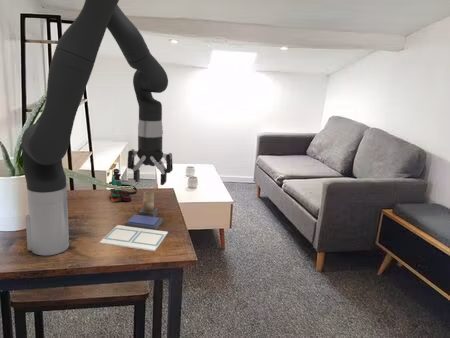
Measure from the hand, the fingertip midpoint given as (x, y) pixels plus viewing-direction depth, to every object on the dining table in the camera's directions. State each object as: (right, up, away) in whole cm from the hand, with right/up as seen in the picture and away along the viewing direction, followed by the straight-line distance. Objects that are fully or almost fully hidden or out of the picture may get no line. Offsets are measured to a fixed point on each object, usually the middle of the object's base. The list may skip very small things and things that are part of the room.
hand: (150, 183), depth 127 cm
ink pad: (-1, -13, -4) cm, 13 cm away
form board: (-2, -15, -13) cm, 21 cm away
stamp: (-1, -11, +3) cm, 11 cm away
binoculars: (-13, -6, +16) cm, 22 cm away
